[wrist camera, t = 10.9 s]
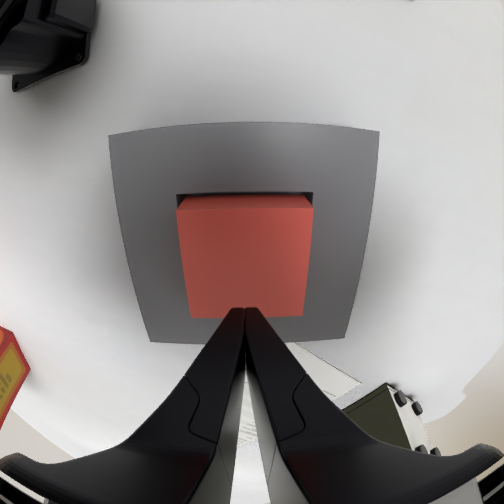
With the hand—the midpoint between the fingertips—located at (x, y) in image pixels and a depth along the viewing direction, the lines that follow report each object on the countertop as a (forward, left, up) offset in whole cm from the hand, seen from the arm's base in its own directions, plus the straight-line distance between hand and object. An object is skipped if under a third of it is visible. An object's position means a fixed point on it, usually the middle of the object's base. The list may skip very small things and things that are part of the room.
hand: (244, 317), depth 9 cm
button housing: (0, 0, -8) cm, 8 cm away
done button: (0, 0, -5) cm, 5 cm away
